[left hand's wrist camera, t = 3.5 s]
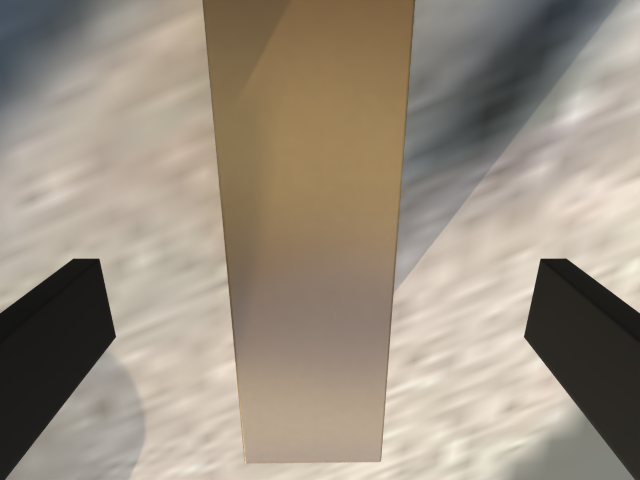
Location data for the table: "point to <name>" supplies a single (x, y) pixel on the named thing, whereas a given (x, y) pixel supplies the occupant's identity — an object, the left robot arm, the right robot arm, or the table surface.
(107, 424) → the table surface
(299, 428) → the beam
